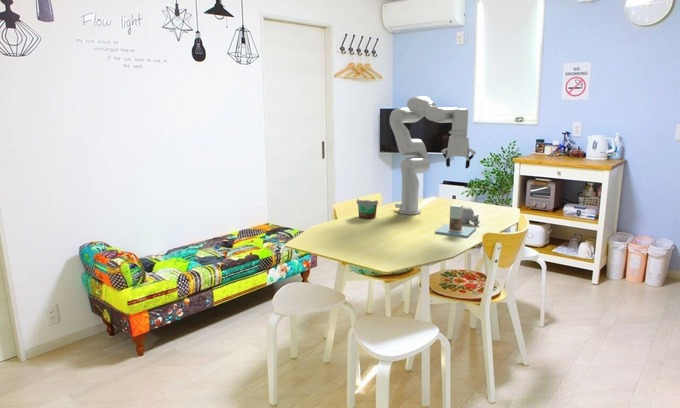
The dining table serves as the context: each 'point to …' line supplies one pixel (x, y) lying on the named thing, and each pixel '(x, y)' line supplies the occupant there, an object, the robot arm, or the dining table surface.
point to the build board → (462, 233)
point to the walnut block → (455, 224)
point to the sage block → (456, 211)
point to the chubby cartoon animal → (469, 216)
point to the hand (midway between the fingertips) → (457, 167)
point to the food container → (367, 209)
